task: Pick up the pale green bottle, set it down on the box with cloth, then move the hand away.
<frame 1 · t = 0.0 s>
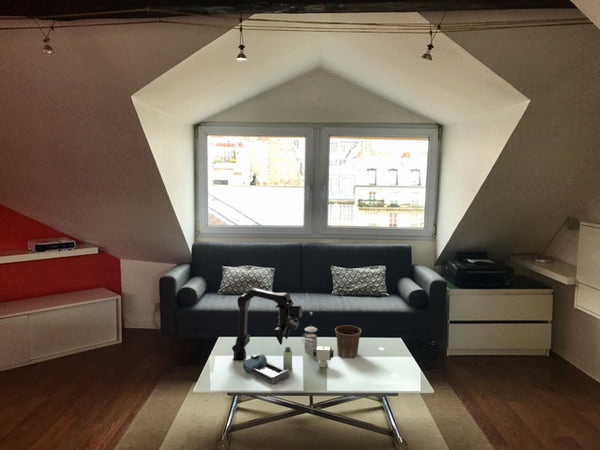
hand: (283, 341, 255), 15 cm above the table, tool pointing down, fingers open, 9 cm apart
box with cloth: (269, 376, 243), on the table
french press: (309, 351, 278), on the table
pale green bottle: (287, 368, 252), on the table
pneumatic valve: (323, 366, 257), on the table
plant pot: (347, 355, 273), on the table
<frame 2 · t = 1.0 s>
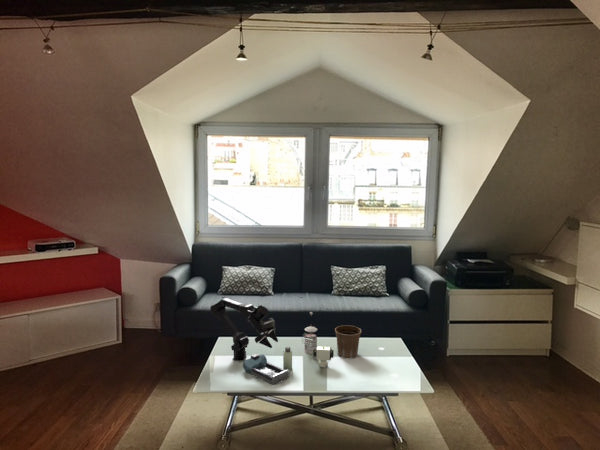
hand: (274, 344, 253), 13 cm above the table, tool tilted 45°, fingers open, 9 cm apart
nothing on the table moved.
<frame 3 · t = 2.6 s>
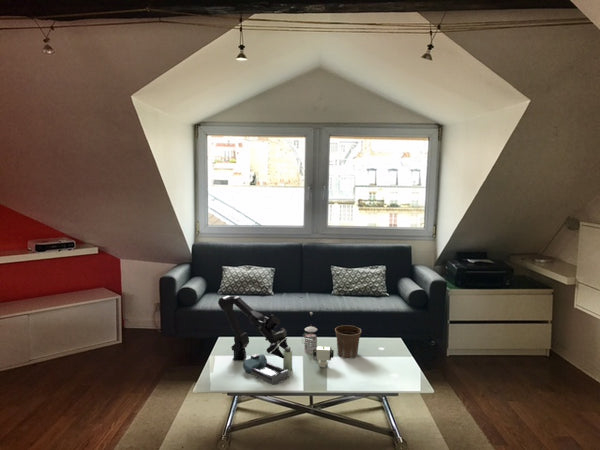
hand: (286, 354, 252), 8 cm above the table, tool tilted 45°, fingers open, 9 cm apart
nothing on the table moved.
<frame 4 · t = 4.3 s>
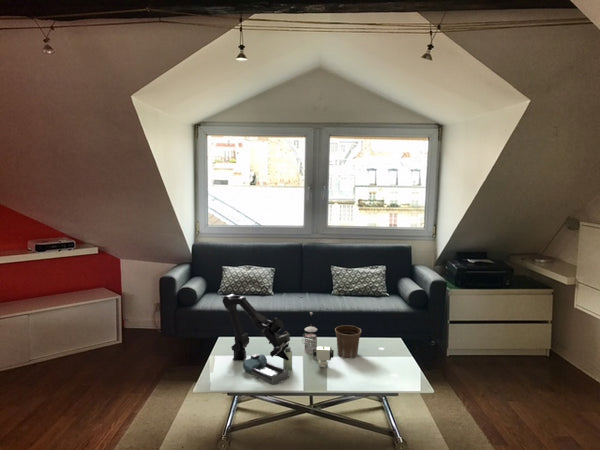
hand: (290, 358, 251), 7 cm above the table, tool tilted 45°, fingers closed on pale green bottle, 5 cm apart
pale green bottle: (287, 368, 252), on the table, touching gripper
everything else where it was.
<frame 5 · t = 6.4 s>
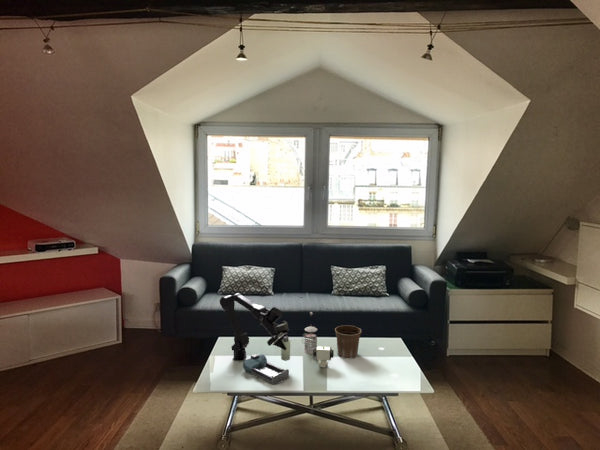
hand: (287, 347, 249), 13 cm above the table, tool tilted 45°, fingers closed on pale green bottle, 5 cm apart
pale green bottle: (285, 358, 250), point 7 cm above the table, touching gripper
everything else where it was.
when the fingers open (10 cm above the table, at t = 8.6 s): pale green bottle drops 1 cm, resting on box with cloth.
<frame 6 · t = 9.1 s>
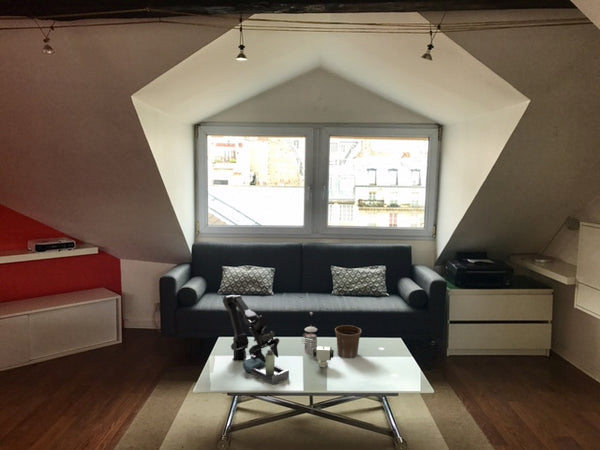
hand: (271, 359, 241), 10 cm above the table, tool tilted 45°, fingers open, 9 cm apart
pale green bottle: (269, 372, 243), point 2 cm above the table, touching box with cloth
everything else where it was.
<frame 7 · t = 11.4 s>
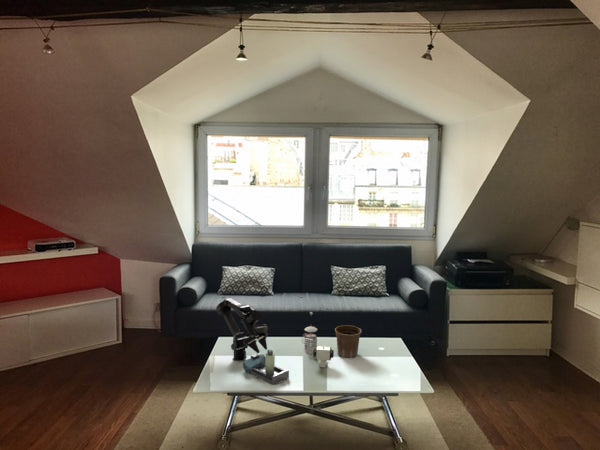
hand: (262, 351, 250), 11 cm above the table, tool tilted 35°, fingers open, 9 cm apart
nothing on the table moved.
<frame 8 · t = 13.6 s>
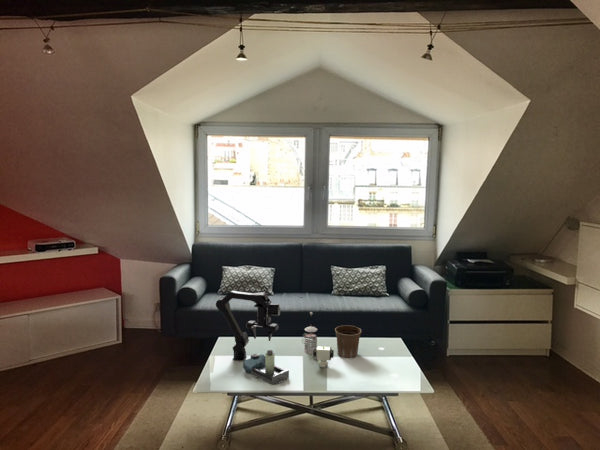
hand: (262, 339, 261), 13 cm above the table, tool pointing down, fingers open, 9 cm apart
nothing on the table moved.
at the end: pale green bottle inside the target area on the box with cloth (0.0 cm from its centre), point 2.0 cm above the box with cloth's base; pale green bottle tilted 1°; the gripper is holding nothing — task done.
